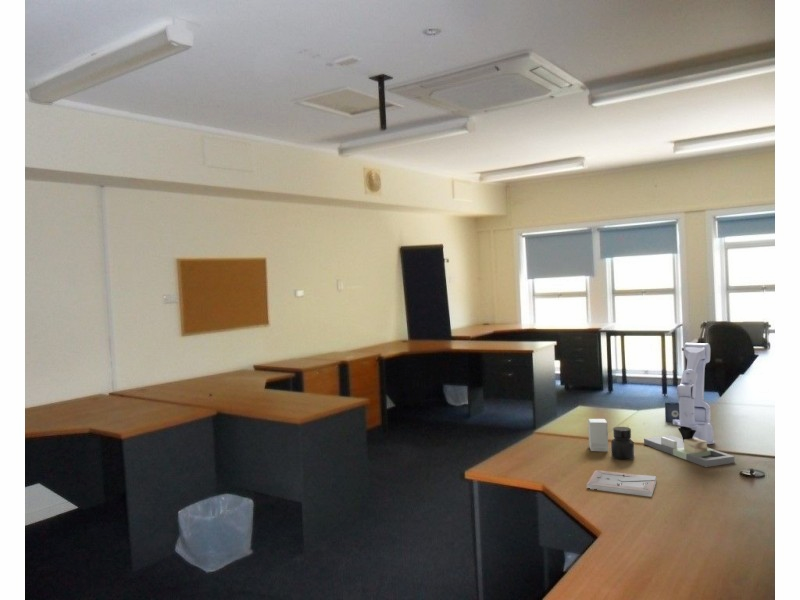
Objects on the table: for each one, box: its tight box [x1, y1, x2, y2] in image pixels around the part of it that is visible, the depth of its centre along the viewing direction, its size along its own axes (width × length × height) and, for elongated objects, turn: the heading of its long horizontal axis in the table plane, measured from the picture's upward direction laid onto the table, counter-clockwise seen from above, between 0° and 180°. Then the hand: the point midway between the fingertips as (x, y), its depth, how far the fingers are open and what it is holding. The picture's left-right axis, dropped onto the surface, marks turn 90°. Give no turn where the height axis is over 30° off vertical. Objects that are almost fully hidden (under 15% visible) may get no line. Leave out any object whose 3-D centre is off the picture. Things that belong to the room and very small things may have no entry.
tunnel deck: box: [643, 434, 735, 468], centre depth 252 cm, size 14×36×6 cm, turn 16°
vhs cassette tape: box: [664, 401, 704, 424], centre depth 300 cm, size 18×3×10 cm, turn 58°
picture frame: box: [586, 469, 657, 498], centre depth 218 cm, size 16×2×22 cm
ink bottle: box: [610, 426, 635, 461], centre depth 250 cm, size 10×9×12 cm
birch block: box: [684, 438, 708, 453], centre depth 247 cm, size 6×6×4 cm
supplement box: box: [587, 418, 609, 452], centre depth 263 cm, size 7×7×13 cm
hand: (687, 445), depth 252 cm, fingers closed
